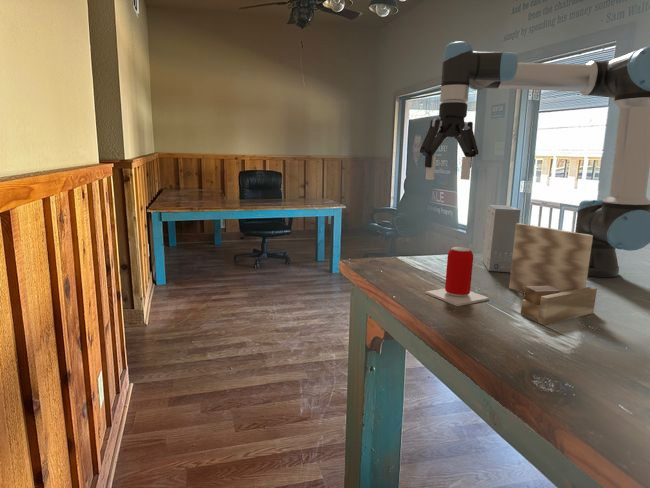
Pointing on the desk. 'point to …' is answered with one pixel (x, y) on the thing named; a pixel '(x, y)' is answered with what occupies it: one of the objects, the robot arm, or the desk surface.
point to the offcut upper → (538, 293)
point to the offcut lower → (530, 309)
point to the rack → (554, 270)
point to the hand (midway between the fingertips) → (447, 179)
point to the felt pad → (455, 300)
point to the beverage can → (459, 271)
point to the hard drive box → (500, 237)
